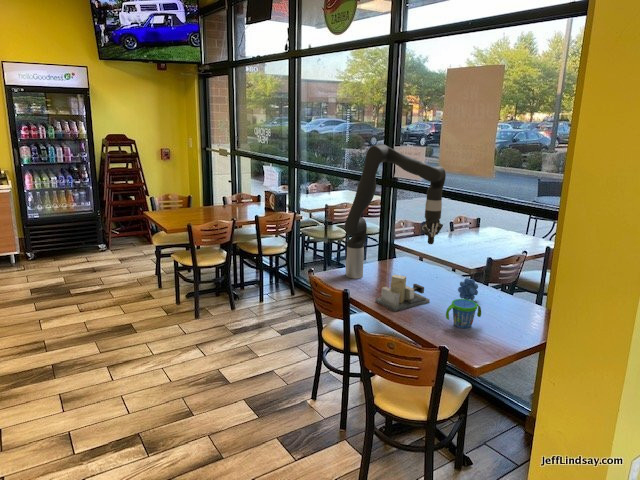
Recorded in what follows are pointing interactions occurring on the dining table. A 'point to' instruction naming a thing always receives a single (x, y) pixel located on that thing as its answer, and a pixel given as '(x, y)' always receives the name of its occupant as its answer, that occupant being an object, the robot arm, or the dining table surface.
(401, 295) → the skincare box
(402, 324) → the dining table surface
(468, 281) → the grapes
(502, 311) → the dining table surface
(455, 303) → the snack cup
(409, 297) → the free jaw
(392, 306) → the vise
